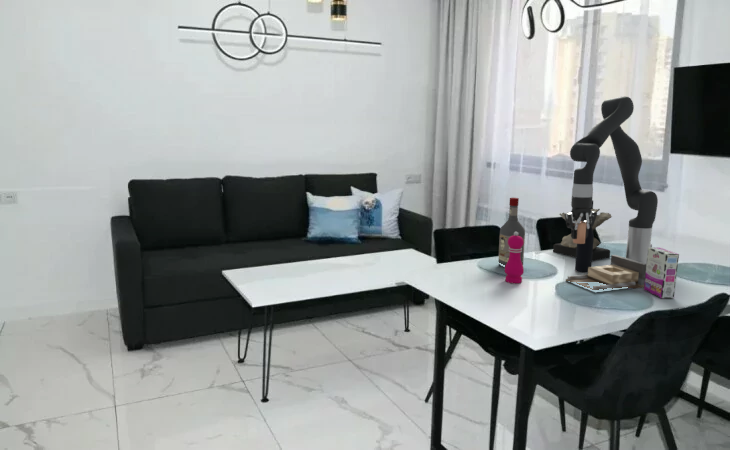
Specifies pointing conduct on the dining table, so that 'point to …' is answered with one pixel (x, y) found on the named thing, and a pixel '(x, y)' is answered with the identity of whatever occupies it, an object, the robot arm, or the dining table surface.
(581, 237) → the dowel
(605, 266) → the socket block
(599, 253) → the coral
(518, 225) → the liquor
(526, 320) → the dining table surface
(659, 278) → the candy bar box
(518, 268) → the pepper mill
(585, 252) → the wine bottle
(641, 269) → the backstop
